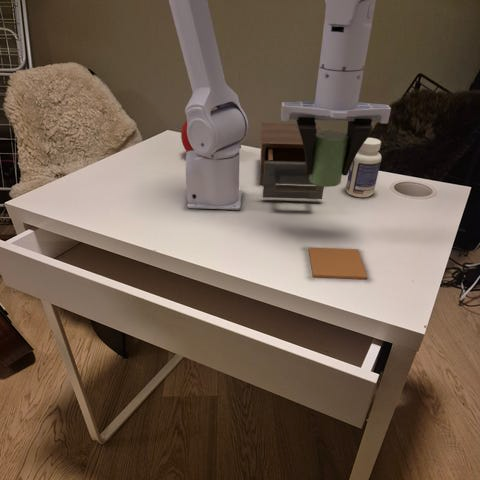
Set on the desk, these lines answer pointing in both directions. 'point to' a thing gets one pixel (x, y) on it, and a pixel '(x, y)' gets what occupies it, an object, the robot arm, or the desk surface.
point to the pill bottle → (364, 169)
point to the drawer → (288, 175)
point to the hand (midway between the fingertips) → (325, 172)
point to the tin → (328, 158)
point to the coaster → (337, 263)
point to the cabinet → (278, 140)
